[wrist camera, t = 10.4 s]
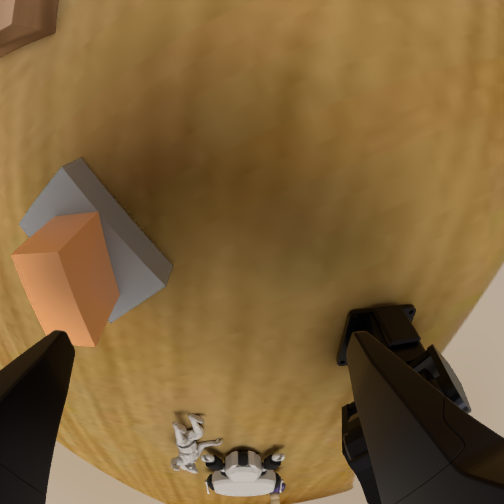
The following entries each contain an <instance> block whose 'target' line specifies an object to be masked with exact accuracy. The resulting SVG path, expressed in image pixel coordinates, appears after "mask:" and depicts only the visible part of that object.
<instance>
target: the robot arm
mask: <svg viewBox="0 0 504 504" xmlns="http://www.w3.org/2000/svg"><path fill="white" fill-rule="evenodd" d="M410 310H411V311H410ZM415 312H416V309H415V307H414V306H413V305H405V306H396V307H386V308H375V309H363V310H354V311H351V312H350V313H349V315H348V318H347V322H346V326H345V330H344V334H343V338H342V342H341V345H340V349H339V353H338V356H337V360H336V361H337V364H338V365H339V366H345V365H348V367H349V373H350V378H351V384H352V390H353V396H354V400H355V401H354V402H352V403H350V404H347V405H345V406H343V407H342V453H343V455H344V456H345V458H346V460H347V462H348V464H349V466H350V467H351V469H352V470H353V471H354V473H355V474H356V476H357V478H358V480H359V481H360V483H361V486H362V488H363V491H364V494H365V497H366V500H367V502H368V504H504V438H503V437H501V436H500V435H498V434H497V433H495V432H494V431H492V430H491V429H489V428H488V427H486V426H485V425H483V424H481V423H480V422H479V421H477V420H476V419H474V418H473V417H472V416H470V415H469V414H468V413H470V412H471V408H470V405H469V402H468V400H467V397H466V395H465V392H464V390H463V387H462V385H461V383H460V381H459V379H458V378H457V376H456V374H455V373H454V371H453V369H452V368H451V366H450V365H449V363H448V362H447V361H446V360H445V359H444V357H443V356H442V355H441V354H440V352H439V351H438V350H437V349H436V348H435V346H434V345H433V344H432V345H431V346H430V347H428V348H427V350H426V351H425V349H424V347H423V345H422V344H421V342H420V340H421V338H420V336H419V335H418V333H417V331H416V330H415V328H414V326H413V325H412V320H413V317H414V315H415ZM354 316H355V317H354ZM74 357H75V350H74V347H73V345H72V343H71V341H70V339H69V336H68V334H67V333H66V332H65V331H61V330H54V331H52V332H51V333H50V334H48V335H47V336H46V337H44V338H43V339H41V340H40V341H39V342H37V343H36V344H35V345H33V346H32V347H31V348H29V349H28V350H27V351H25V352H24V353H23V354H21V355H20V356H19V357H17V358H16V359H15V360H13V361H12V362H11V363H9V364H8V365H7V366H5V367H4V368H3V369H2V370H0V504H45V501H46V493H47V485H48V479H49V473H50V467H51V462H52V457H53V451H54V447H55V442H56V437H57V433H58V429H59V424H60V420H61V416H62V412H63V408H64V405H65V401H66V397H67V393H68V388H69V383H70V377H71V372H72V367H73V362H74Z"/></svg>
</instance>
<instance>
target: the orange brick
mask: <svg viewBox="0 0 504 504" xmlns="http://www.w3.org/2000/svg"><path fill="white" fill-rule="evenodd" d="M11 256H12V259H13V262H14V264H15V267H16V270H17V272H18V275H19V277H20V280H21V282H22V285H23V287H24V289H25V292H26V294H27V296H28V298H29V301H30V303H31V305H32V307H33V309H34V311H35V314H36V316H37V318H38V320H39V322H40V324H41V326H42V328H43V330H44V332H45V333H46V335H48V334H50V333H51V332H52V331H54V330H61V331H65V332H66V333H67V334H68V336H69V339H70V341H71V343H72V345H78V346H89V347H96V345H97V343H98V341H99V338H100V336H101V334H102V332H103V330H104V327H105V325H106V323H107V321H108V319H109V317H110V315H111V313H112V310H113V308H114V306H115V304H116V302H117V300H118V298H119V296H120V293H119V290H118V286H117V283H116V280H115V276H114V273H113V269H112V266H111V262H110V258H109V254H108V250H107V247H106V243H105V238H104V234H103V230H102V226H101V221H100V217H99V212H89V213H79V214H71V215H62V216H55V217H54V218H52V219H51V220H50V221H49V222H47V223H46V224H45V225H44V226H43V227H42V228H40V229H39V230H38V231H37V232H36V233H35V234H33V235H32V236H31V237H30V238H29V239H28V240H27V241H26V242H24V243H23V244H22V245H21V246H20V247H19V248H18V249H17V250H16V251H15V252H14V253H12V254H11Z"/></svg>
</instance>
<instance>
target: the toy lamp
mask: <svg viewBox="0 0 504 504" xmlns="http://www.w3.org/2000/svg"><path fill="white" fill-rule="evenodd" d="M284 488H285V484H283V483H282V488H281V492H282V491H283V490H284ZM279 490H280V485H279V487H278V488H277V489H274V491H273V492H271V493H269V494H271V495H270V499H271V504H280V501H279V497H280V496H279V493H280V492H279Z"/></svg>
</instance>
